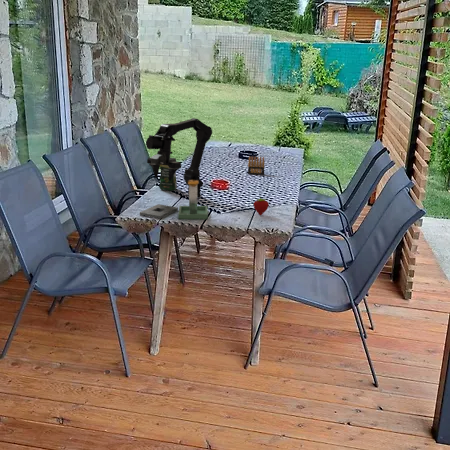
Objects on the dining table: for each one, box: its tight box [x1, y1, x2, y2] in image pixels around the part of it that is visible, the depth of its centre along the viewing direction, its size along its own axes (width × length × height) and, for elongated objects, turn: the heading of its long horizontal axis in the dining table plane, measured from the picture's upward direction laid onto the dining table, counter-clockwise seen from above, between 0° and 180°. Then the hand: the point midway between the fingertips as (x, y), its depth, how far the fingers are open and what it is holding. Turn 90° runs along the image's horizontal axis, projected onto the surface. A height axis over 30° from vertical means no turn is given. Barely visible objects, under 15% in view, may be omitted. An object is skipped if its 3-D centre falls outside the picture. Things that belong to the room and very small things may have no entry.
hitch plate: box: [139, 203, 179, 220], centre depth 262 cm, size 16×12×2 cm
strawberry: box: [253, 197, 270, 216], centre depth 259 cm, size 6×8×10 cm
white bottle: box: [188, 180, 199, 214], centre depth 257 cm, size 5×5×16 cm
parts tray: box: [177, 205, 209, 220], centre depth 260 cm, size 14×14×2 cm
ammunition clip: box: [247, 155, 266, 176], centre depth 341 cm, size 11×2×12 cm, turn 83°
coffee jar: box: [159, 157, 178, 192], centre depth 302 cm, size 10×8×19 cm
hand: (162, 179), depth 273 cm, fingers open, 9 cm apart
